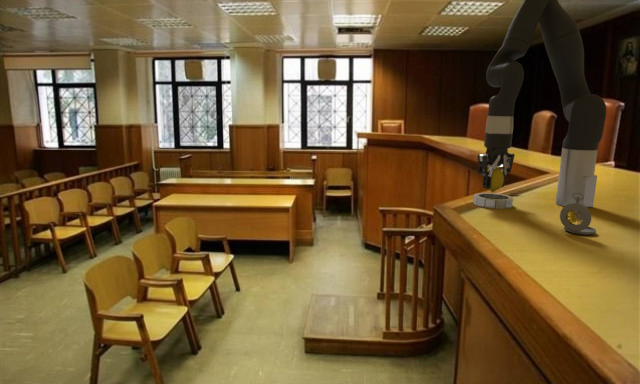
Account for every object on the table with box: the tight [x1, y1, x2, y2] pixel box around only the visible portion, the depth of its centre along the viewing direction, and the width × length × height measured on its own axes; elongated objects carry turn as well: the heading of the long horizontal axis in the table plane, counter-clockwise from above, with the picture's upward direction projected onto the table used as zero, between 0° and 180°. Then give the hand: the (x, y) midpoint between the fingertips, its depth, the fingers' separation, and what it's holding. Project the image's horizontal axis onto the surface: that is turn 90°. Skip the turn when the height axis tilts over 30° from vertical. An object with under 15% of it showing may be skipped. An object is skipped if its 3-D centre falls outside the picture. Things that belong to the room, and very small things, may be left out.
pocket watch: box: [559, 193, 597, 236], centre depth 103 cm, size 8×8×10 cm
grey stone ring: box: [472, 192, 514, 210], centre depth 133 cm, size 11×11×2 cm
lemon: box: [488, 167, 504, 193], centre depth 132 cm, size 6×6×8 cm
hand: (493, 187), depth 133 cm, fingers closed on lemon, 5 cm apart
